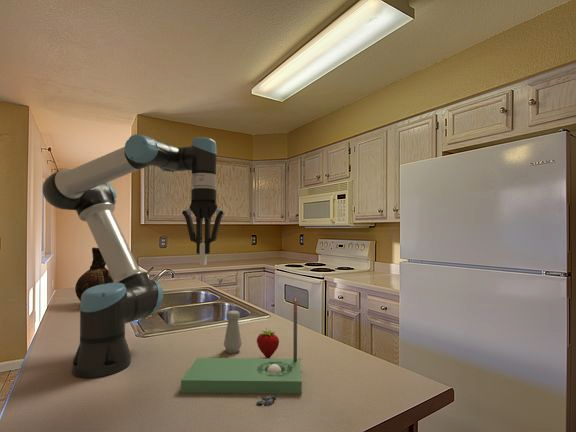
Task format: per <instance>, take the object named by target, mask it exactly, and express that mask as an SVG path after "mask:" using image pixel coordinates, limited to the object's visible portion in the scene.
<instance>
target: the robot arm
mask: <svg viewBox="0 0 576 432" xmlns="http://www.w3.org/2000/svg"><path fill="white" fill-rule="evenodd" d="M217 155H218V151H217V143H216V141H215V140H214V139H212V138H210V137H205V136H204V137H201V136H197V137H194V138H193V139H192V140H191V145H189V146H175V145H172V144H170V143H167V142H163V141H161V140H159V139H156V138H152V137H150V136H148V135H143V134H132V135H130V137H128V139H127V140H126V141H125V143H124V146H123V147H120V148H118V149H115V150H113V151H111V152H108V153H107V154H105V155H102V156H100V157H97V158H94V159H92V160H90V161H88V162H85V163H83V164H80V165H78V166H76V167H74V168H71V169H69V168H63V169H60V170H58V171H55V172H54V173H51V174H50V175H48V176H47V177H46V178H45V180H44V182H43V184H42V194H43V195H42V196H43V197H44V199H45V200H46V202H47V203H49V204H50V205H51V206H53V207H54V208H56V209H59V210H66V211H67V210H68V211H75V212H76V213H77V216H78V217H79V220H81V221H83V222H86V224H87V226H88V228H89V231H90V232H91V234H92V236H93V239H94V241H95V243H96V246H97V248H99V250H100V252H101V254H102V257H103V259H104V261H105V263H106V265H105V266H106V269H108V270H109V272H110V274H111V276H112V279H113V281H114V282H113V283H107V284H101V285H97V286H94V287H91V288H89V289H87V290H85V291H84V292H83V294H82V296H81V301H80V304H79V311H80V312H79V321H80V322H79V344H78V347H77V350H76V353H75V355H74V358H73V361H72V363H71V374H72V375H73V376H74V377H78V378H83V379H84V378H86V379H87V378H90V379H91V378H100V377H101V378H102V377H106V376H110V375H112V374H113V375H114V374H116V373H118V372H120V371H123V370H124V369H126V368H128V367H129V366H130V365H131V362H132V354H131V353H132V352H131V351H130V347H129V344H128V342H127V339H126V324H128V323H130V322H133V321H137V320H139V319H143V318H147V317H148V316H150V315H152V314H154V313H156V312H157V311H158V310H159V309H160V308H161V306H162V303H163V300H164V290H163V287H162V285H161V284H160V282H158V281H156V280H154V279H150V277H149V276H148V273H147V271H145V270H141V269H140V268H139V266H138V264H137V261H136V260H135V257H134V255H133V253H132V251H131V248H130V247H129V244H128V242H127V240H126V239H125V236H124V234H123V232H122V230H121V227H120V226H119V223H118V221H117V219H116V217H115V215H114V213H113V212H114V211H115V209H116V208H115V207H116V206H115V205H116V203H117V200H116V199H117V194H116V193H117V192H116V190H115V188H114V187H113V186H112V184H110V183H109V182H111V181H114V180H117V179H118V178H121V177H125V176H126V175H129V174H131V173H132V174H133V173H134V172H136V171H139V170H143V169H145V168H147V167H150V166H152V167H157V168H159V169H160V170H161V171H162V172H171V173H175V172H184V171H185V172H186V171H191V188H192V189H191V191H190V192H191V195H190V199H191V200H190V202H191V203H190V205H189V207H188V208H186V210H182V211H181V213H182V215H183V216H184V219H185V223H186V227H187V231H188V232H187V233H188V236H189V240H190V241H191V242H192V243H195V244H196V254H197V255H199V266H206V265H207V262H208V261H207V260H208V255H209V254H210V252H211V243H213V242H215V241H217V237H218V233H219V231H220V226H221V225H220V224H221V222H222V218H223V217H224V215H225V214H226V213H225V211H224V210H222V209H220V208H219V207H218V204H217V190H216V189H215V188H217ZM192 214H193V216H194V217H195V223H196V227H195V226H194V223H193V218H192ZM214 214H215V216H216V217H215V220H214V224H213V227H212V226H211V225H212V223H211V221H212V217H213V215H214ZM203 221H204V241H203ZM211 227H212V231H211ZM195 228H196V229H195Z"/></svg>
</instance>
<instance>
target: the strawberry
mask: <svg viewBox="0 0 576 432" xmlns="http://www.w3.org/2000/svg"><path fill="white" fill-rule="evenodd" d="M279 343H280V340H279V337H278V336H277V334H276V333H275V331H272V330H271V329H270V330H268V329H267V328H266V331H265V330H262V331H261V333H259V334H258V336H257V337H256V344H257V347H258V349H259V350H260V352H261V353H262V354H263V355H264V357H265V358H272V356H273V355H274V353H275V352H276V351H277V349H278V348H279Z"/></svg>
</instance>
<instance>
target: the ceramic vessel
mask: <svg viewBox="0 0 576 432" xmlns="http://www.w3.org/2000/svg"><path fill="white" fill-rule="evenodd" d="M91 252H92V262H91V265H90V266H89V269H88V270H86V271H85V272H84V273H83V274H82V275H81V276H80V277H78V279H77V281H76V283H75V289H74V290H75V295H76V297H77V299H78V300H79V302H81V296H82V294H83V292H84V291H85V290H87V289H89V288H91V287H94V286H97V285H101V284H107V283H113V282H114V281H113V279H112V276H111V274H110V272H109V270H108V268H107V267H106V266H107V265H106V263H105V261H104V259H103V257H102V254H101V252H100V250H99V248H98V247H94V246H93V247H92V248H91Z"/></svg>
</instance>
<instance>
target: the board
mask: <svg viewBox="0 0 576 432" xmlns="http://www.w3.org/2000/svg"><path fill="white" fill-rule="evenodd" d="M301 363H302V361H301V358H298V296H294V297H293V358H274V357H273V358H272V357H270V358H266V357H265V358H262V357H261V358H257V357H255V358H252V357H251V358H249V357H247V358H246V357H197V358H195V360H194V362H193V363H192V364H191V366H190V367H189V368H188V370H187V371H186V373H185V374H184V376H182V378H181V380H180V393H190V394H191V393H193V394H194V393H197V394H198V393H202V394H205V393H206V394H213V393H214V394H218V393H219V394H282V395H283V394H285V395H286V394H290V395H291V394H294V395H295V394H300V395H301V394H302V393H303V392H302V388H303V387H302V386H303V385H302V381H303V380H302V368H301V367H302V366H301V365H302V364H301ZM272 364H277V365H278V366H280V368H281V371H282V372H281V373H268V372H267V369H268V367H269V366H270V365H272Z"/></svg>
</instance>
